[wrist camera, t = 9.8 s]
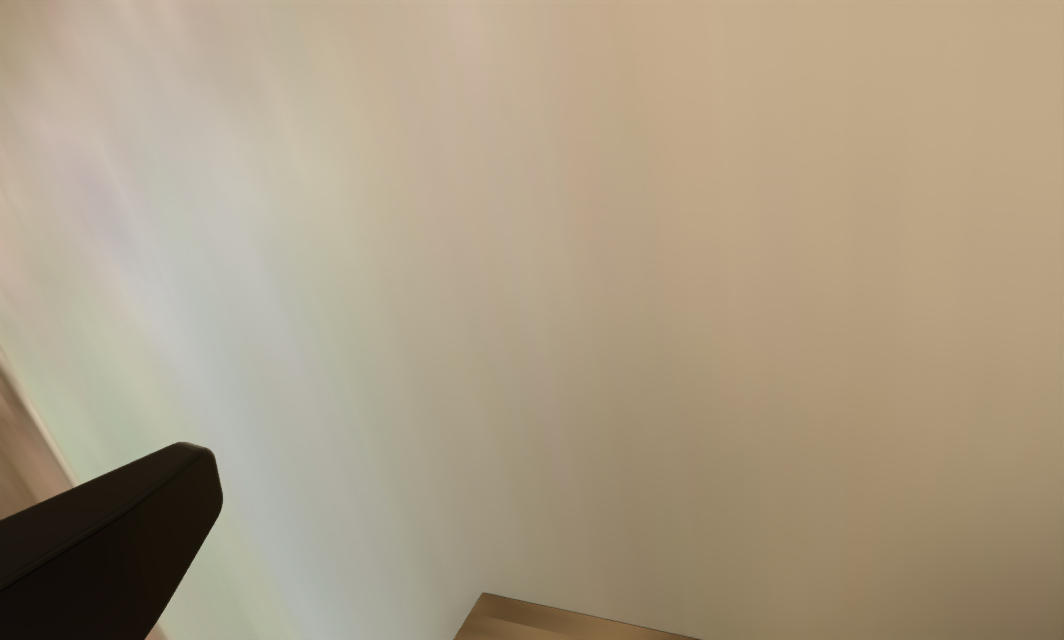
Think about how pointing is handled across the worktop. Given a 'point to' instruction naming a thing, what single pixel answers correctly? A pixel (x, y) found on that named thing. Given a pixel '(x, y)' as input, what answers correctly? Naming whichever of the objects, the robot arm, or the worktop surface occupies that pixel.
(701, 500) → the worktop surface
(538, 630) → the box
